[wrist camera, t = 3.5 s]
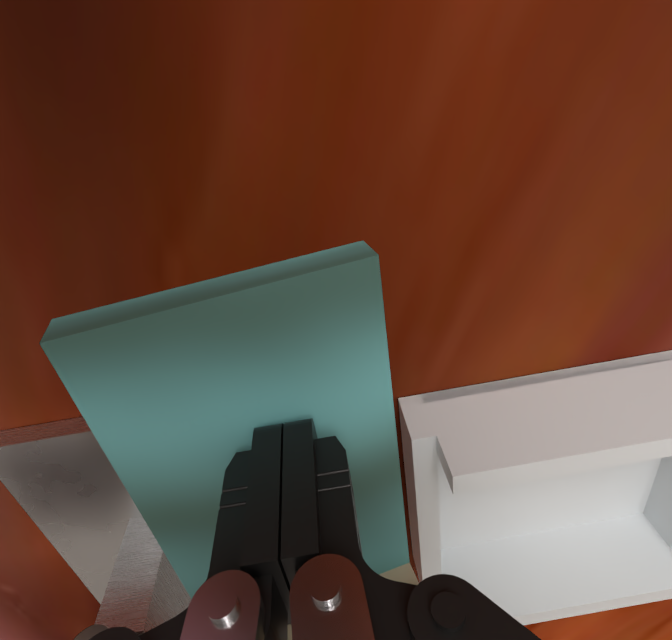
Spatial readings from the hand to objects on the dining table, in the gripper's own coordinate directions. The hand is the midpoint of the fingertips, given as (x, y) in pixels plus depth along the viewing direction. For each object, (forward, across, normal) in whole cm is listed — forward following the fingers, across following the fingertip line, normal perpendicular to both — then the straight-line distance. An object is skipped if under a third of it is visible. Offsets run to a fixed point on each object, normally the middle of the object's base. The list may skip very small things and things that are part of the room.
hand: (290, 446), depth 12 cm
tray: (+7, -11, +11) cm, 17 cm away
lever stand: (+6, +8, +11) cm, 15 cm away
